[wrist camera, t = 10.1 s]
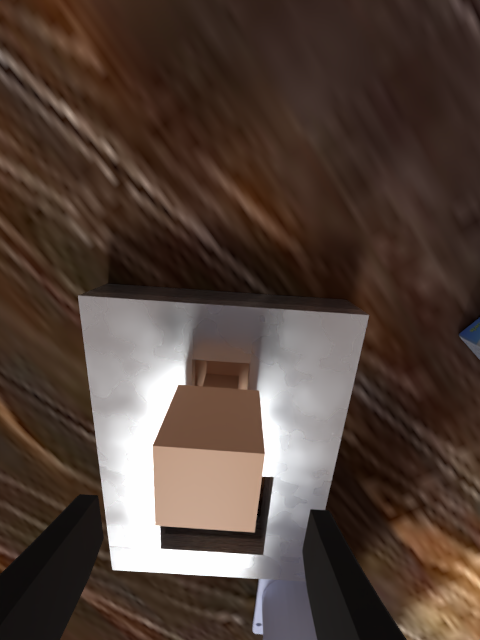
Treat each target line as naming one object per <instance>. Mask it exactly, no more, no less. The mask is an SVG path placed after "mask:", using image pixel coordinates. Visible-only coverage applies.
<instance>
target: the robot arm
mask: <svg viewBox="0 0 480 640" xmlns="http://www.w3.org/2000/svg"><path fill="white" fill-rule="evenodd" d="M102 541H103V530H102V522H101V515H100V507H99V499H98V496H97V495H81V494H80V495H79V496H77V497H76V498H75V499H74V500H73V502H72V503H71V504H70V505H69V506H68V507H67V508H66V509H65V510H64V511H63V512H62V513H61V514H60V515H59V516H58V517H57V518H56V519H55V520H54V521H53V522H52V523H51V524H50V525H49V526H48V527H47V528H46V529H45V530H44V531H43V533H42V534H41V535H40V536H39V537H38V538H37V539H36V540H35V541H34V542H33V543H32V544H31V545H30V546H29V547H28V548H27V549H26V550H25V551H24V552H23V553H22V554H21V555H20V556H18V557H17V558H16V559H15V560H14V561H13V562H12V563H11V564H10V565H9V566H8V567H7V568H6V569H5V570H4V571H3V572H2V573H1V574H0V640H60V638H61V636H62V634H63V632H64V630H65V628H66V626H67V623H68V621H69V619H70V617H71V615H72V613H73V611H74V609H75V606H76V604H77V602H78V600H79V598H80V596H81V594H82V592H83V589H84V587H85V585H86V583H87V581H88V579H89V576H90V574H91V571H92V568H93V566H94V563H95V560H96V558H97V555H98V552H99V549H100V547H101V544H102ZM302 554H303V562H304V571H305V578H306V582H304V581H288V580H271V579H259V580H258V588H257V595H256V603H255V610H254V617H253V625H252V630H253V632H254V633H255V634H263V640H406V638H405V637H404V635H403V634H402V632H401V631H400V629H399V628H398V626H397V625H396V623H395V621H394V620H393V618H392V617H391V615H390V614H389V612H388V611H387V609H386V607H385V606H384V604H383V603H382V601H381V600H380V598H379V596H378V595H377V593H376V591H375V590H374V588H373V586H372V585H371V583H370V582H369V580H368V578H367V577H366V575H365V573H364V572H363V570H362V568H361V567H360V565H359V563H358V562H357V560H356V558H355V556H354V555H353V553H352V551H351V549H350V548H349V546H348V544H347V542H346V540H345V539H344V537H343V535H342V533H341V531H340V529H339V528H338V526H337V524H336V522H335V520H334V518H333V516H332V514H331V513H330V512H329V510H315V509H310V514H309V519H308V524H307V529H306V534H305V539H304V544H303V549H302Z"/></svg>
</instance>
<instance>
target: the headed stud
mask: <svg viewBox="0 0 480 640" xmlns="http://www.w3.org/2000/svg"><path fill="white" fill-rule="evenodd" d="M248 372H249V363H236V362H221V361H206V360H195V386H190V385H178V387H177V389H176V391H175V394H174V396H173V398H172V401H171V403H170V406H169V408H168V410H167V413H166V415H165V417H164V420H163V422H162V425H161V427H160V429H159V432H158V434H157V436H156V439H155V441H154V443H153V477H154V508H155V526H167V527H182V528H196V529H211V530H225V531H239V532H254V533H255V526H256V518H257V511H258V503H259V496H260V488H261V481H262V473H263V466H264V458H265V448H264V437H263V426H262V415H261V404H260V393H259V391H257V390H247V384H248Z"/></svg>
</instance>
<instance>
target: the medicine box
mask: <svg viewBox="0 0 480 640" xmlns="http://www.w3.org/2000/svg"><path fill="white" fill-rule="evenodd" d="M459 337H460V338H461V339H462V340H463V341H464V343H465V344H466V345H467V346H468V347H469V348H470V349H471V350H472V352H473V353H474V354H475V355H476V356H477V357H478V358H479V359H480V318H478V319H477V320H476V321H474V322H473V323H472V324H471V325H469V326H468V327H467V328H466V329H464V330H463V331H462V332H461V333H460V334H459Z"/></svg>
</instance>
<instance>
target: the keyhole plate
mask: <svg viewBox="0 0 480 640" xmlns="http://www.w3.org/2000/svg"><path fill="white" fill-rule="evenodd" d="M78 300H79V308H80V316H81V324H82V332H83V340H84V347H85V355H86V363H87V371H88V379H89V387H90V395H91V403H92V411H93V419H94V427H95V435H96V443H97V451H98V459H99V467H100V474H101V482H102V490H103V498H104V506H105V514H106V522H107V530H108V538H109V546H110V554H111V562H112V570H124V571H140V572H157V573H173V574H189V575H206V576H222V577H239V578H255V579H271V580H288V581H304V582H306V578H305V571H304V562H303V554H302V549H303V544H304V539H305V534H306V529H307V524H308V519H309V514H310V509H315V510H325V508H326V503H327V499H328V495H329V490H330V486H331V481H332V477H333V473H334V468H335V464H336V459H337V455H338V450H339V446H340V442H341V437H342V433H343V428H344V424H345V419H346V415H347V411H348V406H349V402H350V397H351V393H352V388H353V384H354V380H355V375H356V371H357V366H358V362H359V358H360V353H361V349H362V344H363V340H364V335H365V331H366V327H367V322H368V318H369V315H368V314H367V313H365V312H364V311H362V310H361V309H360V308H358V307H357V306H355V305H354V304H352V303H351V302H349V301H348V300H343V299H328V298H314V297H299V296H284V295H269V294H254V293H240V292H225V291H210V290H195V289H180V288H166V287H151V286H136V285H121V284H105V285H103V286H100V287H98V288H95V289H93V290H91V291H88V292H86V293H83V294H81V295H78ZM195 360H206V361H221V362H236V363H249V372H248V384H247V390H257V391H259V393H260V404H261V415H262V426H263V437H264V448H265V458H264V466H263V473H262V476H265V481H264V489H263V497H262V505H261V513H260V517H258V516H257V518H256V526H255V533H254V532H239V531H225V530H211V529H196V528H182V527H167V526H155V508H154V477H153V443H154V441H155V439H156V436H157V434H158V432H159V429H160V427H161V425H162V422H163V420H164V417H165V415H166V413H167V410H168V408H169V406H170V403H171V401H172V398H173V396H174V394H175V391H176V389H177V387H178V385H190V386H195Z"/></svg>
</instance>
